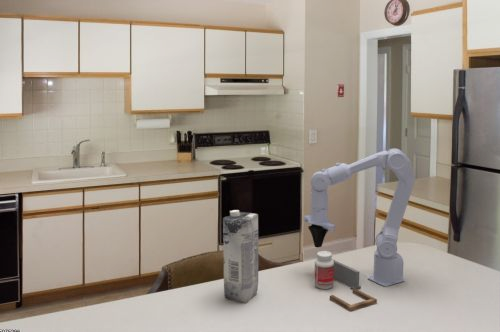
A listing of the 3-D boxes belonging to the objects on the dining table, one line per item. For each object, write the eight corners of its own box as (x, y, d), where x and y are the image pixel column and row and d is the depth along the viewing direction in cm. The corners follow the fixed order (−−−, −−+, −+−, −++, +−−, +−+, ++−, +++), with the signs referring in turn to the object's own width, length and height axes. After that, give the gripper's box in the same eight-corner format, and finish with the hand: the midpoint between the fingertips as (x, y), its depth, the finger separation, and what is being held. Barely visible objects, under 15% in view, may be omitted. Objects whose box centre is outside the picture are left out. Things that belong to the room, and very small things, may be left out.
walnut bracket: (355, 292, 147) (355, 288, 147) (376, 303, 139) (376, 299, 139) (329, 299, 142) (329, 295, 142) (350, 311, 134) (350, 307, 134)
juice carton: (261, 292, 148) (261, 208, 144) (247, 305, 138) (246, 216, 134) (236, 287, 152) (235, 206, 148) (220, 300, 142) (219, 213, 138)
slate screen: (332, 274, 162) (332, 258, 161) (360, 288, 150) (361, 271, 149) (325, 276, 160) (325, 259, 159) (353, 290, 148) (354, 272, 147)
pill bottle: (337, 286, 151) (338, 254, 149) (322, 291, 148) (323, 259, 146) (325, 279, 157) (325, 248, 154) (310, 283, 154) (310, 252, 151)
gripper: (296, 204, 161) (296, 242, 163) (323, 213, 149) (322, 254, 151) (313, 202, 165) (312, 239, 167) (340, 211, 152) (339, 251, 154)
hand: (318, 246), depth 159 cm, fingers closed
